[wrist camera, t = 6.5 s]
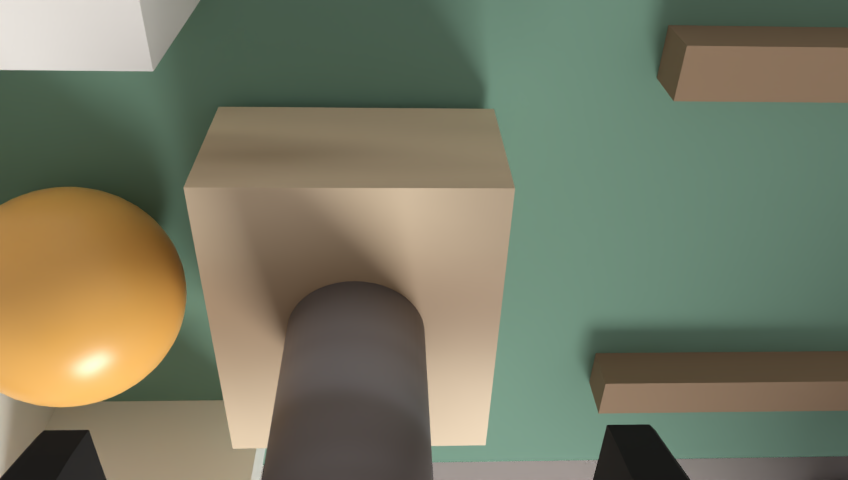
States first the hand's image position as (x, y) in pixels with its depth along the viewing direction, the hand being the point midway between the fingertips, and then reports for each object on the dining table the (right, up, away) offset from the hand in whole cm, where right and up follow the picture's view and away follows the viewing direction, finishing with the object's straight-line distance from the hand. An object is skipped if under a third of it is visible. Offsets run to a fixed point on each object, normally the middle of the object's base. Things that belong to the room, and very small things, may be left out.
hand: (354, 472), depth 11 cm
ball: (-5, +2, +3) cm, 7 cm away
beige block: (0, +3, +5) cm, 6 cm away
